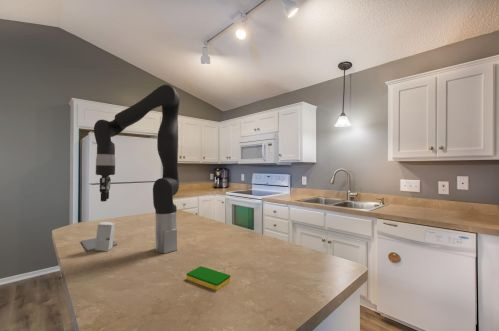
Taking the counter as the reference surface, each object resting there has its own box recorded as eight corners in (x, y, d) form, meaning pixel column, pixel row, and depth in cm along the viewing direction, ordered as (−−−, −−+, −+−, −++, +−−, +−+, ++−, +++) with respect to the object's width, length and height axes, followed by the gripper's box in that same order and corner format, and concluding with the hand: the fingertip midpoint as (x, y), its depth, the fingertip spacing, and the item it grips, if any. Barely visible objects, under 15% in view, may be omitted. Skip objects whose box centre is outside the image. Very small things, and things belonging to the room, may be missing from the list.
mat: (117, 245, 114) (117, 244, 114) (87, 251, 106) (87, 250, 106) (107, 236, 128) (107, 235, 128) (81, 241, 119) (81, 240, 119)
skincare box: (94, 250, 105) (96, 224, 105) (99, 246, 110) (101, 221, 109) (108, 251, 106) (111, 225, 106) (113, 247, 110) (115, 222, 110)
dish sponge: (200, 272, 85) (200, 265, 85) (231, 282, 78) (230, 275, 78) (186, 280, 79) (185, 273, 79) (216, 292, 72) (216, 284, 72)
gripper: (113, 164, 101) (112, 201, 101) (116, 164, 114) (115, 197, 114) (93, 164, 98) (92, 202, 98) (98, 164, 111) (97, 198, 111)
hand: (104, 200), depth 106 cm, fingers open, 8 cm apart
